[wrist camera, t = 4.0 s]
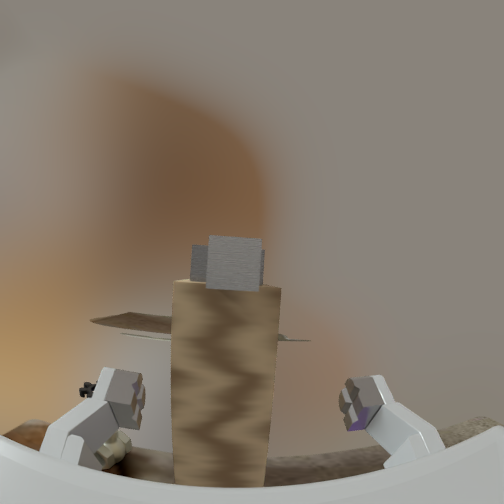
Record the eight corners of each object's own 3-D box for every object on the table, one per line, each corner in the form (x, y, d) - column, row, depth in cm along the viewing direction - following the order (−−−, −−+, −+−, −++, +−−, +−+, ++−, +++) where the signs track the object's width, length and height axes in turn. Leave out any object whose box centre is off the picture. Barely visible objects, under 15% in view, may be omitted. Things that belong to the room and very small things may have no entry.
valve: (142, 457, 34) (136, 387, 35) (120, 479, 27) (109, 403, 28) (106, 444, 35) (98, 376, 36) (81, 462, 28) (69, 388, 29)
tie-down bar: (170, 285, 17) (175, 224, 17) (194, 280, 33) (196, 249, 34) (292, 293, 17) (296, 233, 18) (256, 284, 34) (258, 253, 34)
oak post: (178, 517, 22) (173, 281, 24) (185, 463, 34) (187, 279, 36) (259, 519, 23) (281, 288, 25) (248, 466, 35) (261, 283, 37)
